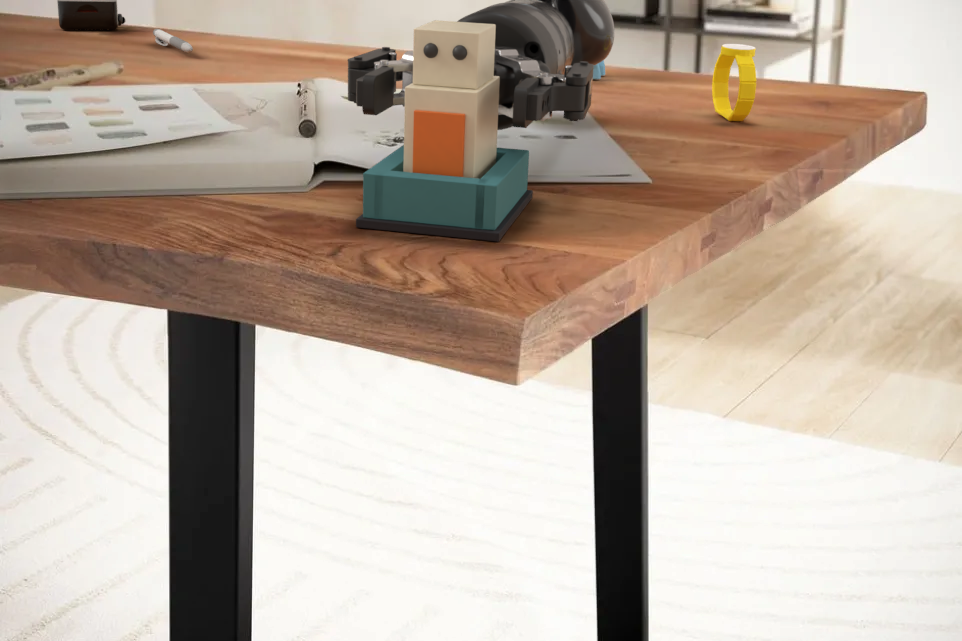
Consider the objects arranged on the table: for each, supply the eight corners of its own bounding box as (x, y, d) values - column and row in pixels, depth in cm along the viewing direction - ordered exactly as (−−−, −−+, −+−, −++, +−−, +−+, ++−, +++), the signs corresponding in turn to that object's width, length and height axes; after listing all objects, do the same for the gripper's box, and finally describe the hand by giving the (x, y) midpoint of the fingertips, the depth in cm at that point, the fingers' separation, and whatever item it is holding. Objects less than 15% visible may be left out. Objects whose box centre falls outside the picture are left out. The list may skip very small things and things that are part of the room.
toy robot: (429, 188, 74) (434, 18, 70) (494, 194, 73) (502, 22, 70) (401, 214, 68) (404, 30, 65) (471, 220, 67) (478, 35, 64)
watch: (701, 111, 105) (708, 40, 103) (731, 111, 106) (739, 41, 104) (728, 125, 99) (736, 50, 97) (760, 125, 100) (768, 51, 98)
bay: (405, 186, 76) (406, 138, 75) (532, 198, 75) (535, 149, 74) (355, 227, 67) (355, 173, 66) (498, 242, 65) (501, 187, 64)
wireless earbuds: (125, 31, 139) (124, 1, 137) (59, 30, 137) (56, 0, 136) (126, 26, 143) (124, -3, 142) (61, 25, 141) (59, -4, 140)
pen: (160, 40, 133) (159, 26, 132) (196, 58, 122) (196, 44, 121) (150, 40, 133) (150, 27, 132) (186, 59, 121) (186, 44, 121)
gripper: (401, -2, 82) (318, 23, 67) (614, 12, 79) (577, 41, 64) (399, 110, 84) (319, 159, 69) (605, 127, 82) (568, 181, 67)
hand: (443, 102), depth 67 cm, fingers open, 8 cm apart
